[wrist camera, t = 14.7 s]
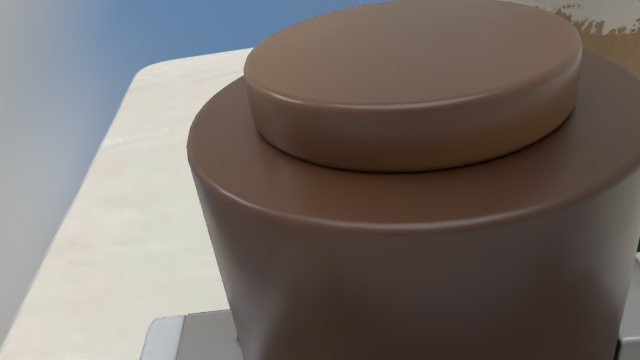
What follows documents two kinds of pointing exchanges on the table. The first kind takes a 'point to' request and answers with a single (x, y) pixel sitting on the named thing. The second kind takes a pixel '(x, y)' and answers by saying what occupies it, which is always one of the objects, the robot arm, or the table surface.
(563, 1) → the vase
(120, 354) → the table surface
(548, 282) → the brown lidded canister
